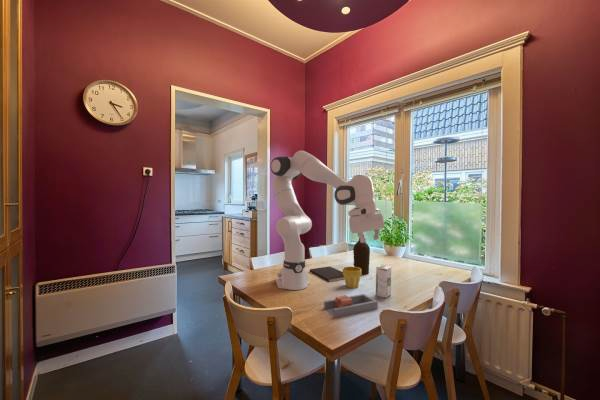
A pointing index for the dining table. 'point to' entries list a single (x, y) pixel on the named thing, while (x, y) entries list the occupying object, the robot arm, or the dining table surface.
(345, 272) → the plant pot
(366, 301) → the channel
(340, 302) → the red block
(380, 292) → the syrup box
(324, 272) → the hardcover book
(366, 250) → the olive oil
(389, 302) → the dining table surface
